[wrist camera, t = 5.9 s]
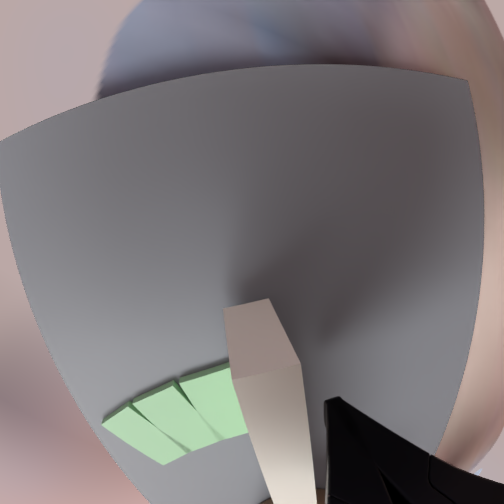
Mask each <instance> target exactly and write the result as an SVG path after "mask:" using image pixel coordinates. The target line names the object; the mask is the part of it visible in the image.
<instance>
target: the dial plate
mask: <svg viewBox="0 0 504 504" xmlns="http://www.w3.org/2000/svg"><path fill="white" fill-rule="evenodd" d="M0 190H1V196H2V202H3V208H4V213H5V218H6V223H7V228H8V232H9V236H10V241H11V245H12V249H13V253H14V256H15V260H16V264H17V267H18V270H19V274H20V277H21V280H22V283H23V286H24V289H25V292H26V295H27V298H28V301H29V303H30V306H31V309H32V312H33V314H34V317H35V319H36V322H37V325H38V327H39V329H40V332H41V334H42V337H43V339H44V341H45V343H46V346H47V348H48V350H49V352H50V354H51V356H52V359H53V360H54V363H55V365H56V367H57V369H58V371H59V373H60V375H61V376H62V379H63V380H64V382H65V384H66V386H67V388H68V390H69V391H70V393H71V395H72V397H73V399H74V400H75V402H76V404H77V405H78V407H79V409H80V410H81V412H82V414H83V415H84V417H85V419H86V420H87V422H88V423H89V425H90V426H91V428H92V429H93V431H94V432H95V434H96V435H97V437H98V438H99V440H100V441H101V443H102V444H103V445H104V447H105V448H106V450H107V451H108V453H109V454H110V455H111V457H112V458H113V459H114V461H115V462H116V463H117V465H118V466H119V467H120V468H121V470H122V471H123V472H124V473H125V475H126V476H127V477H128V478H129V480H130V481H131V482H132V483H133V484H134V486H135V487H136V488H137V489H138V490H139V491H140V492H141V494H142V495H143V496H144V497H145V498H146V499H147V500H148V501H149V502H150V504H261V503H263V502H264V501H266V500H268V499H271V495H270V493H269V490H268V487H267V484H266V482H265V479H264V476H263V473H262V471H261V468H260V465H259V462H258V459H257V456H256V454H255V451H254V448H253V445H252V442H251V439H250V436H249V433H248V430H247V427H246V424H245V421H244V418H243V414H242V411H241V408H240V405H239V402H238V399H237V395H236V392H235V389H234V386H233V382H232V378H231V370H230V363H229V355H228V347H227V339H226V331H225V322H224V313H223V308H228V307H233V306H237V305H242V304H246V303H250V302H255V301H259V300H263V299H268V298H269V300H270V302H271V304H272V306H273V308H274V310H275V312H276V314H277V316H278V318H279V320H280V322H281V324H282V326H283V328H284V330H285V332H286V335H287V337H288V339H289V341H290V343H291V345H292V347H293V349H294V351H295V353H296V355H297V357H298V359H299V361H300V363H301V369H302V376H303V384H304V391H305V399H306V407H307V415H308V424H309V432H310V441H311V450H312V459H313V469H314V479H315V489H325V485H326V427H325V423H324V401H325V400H326V399H330V398H333V397H336V396H340V397H341V398H342V399H343V400H345V401H346V402H348V403H349V404H351V405H352V406H354V407H355V408H357V409H358V410H360V411H361V412H363V413H364V414H366V415H367V416H369V417H371V418H372V419H374V420H375V421H377V422H378V423H380V424H382V425H383V426H385V427H386V428H388V429H390V430H391V431H393V432H395V433H396V434H398V435H399V436H401V437H403V438H404V439H406V440H408V441H409V442H411V443H413V444H414V445H416V446H418V447H420V448H421V449H423V450H425V451H427V452H428V453H430V455H431V454H432V455H435V453H436V451H437V449H438V446H439V444H440V441H441V439H442V437H443V434H444V432H445V429H446V426H447V424H448V421H449V418H450V415H451V413H452V410H453V407H454V404H455V401H456V398H457V394H458V391H459V388H460V385H461V381H462V378H463V374H464V370H465V366H466V362H467V358H468V354H469V350H470V345H471V341H472V336H473V331H474V325H475V320H476V314H477V307H478V300H479V293H480V284H481V275H482V263H483V247H484V190H483V174H482V162H481V153H480V144H479V137H478V130H477V124H476V118H475V112H474V107H473V102H472V98H471V93H470V89H469V84H468V81H467V80H463V79H458V78H453V77H449V76H443V75H438V74H432V73H426V72H420V71H413V70H406V69H397V68H388V67H377V66H363V65H341V64H300V65H278V66H264V67H253V68H243V69H234V70H226V71H219V72H212V73H206V74H200V75H194V76H189V77H184V78H179V79H174V80H169V81H164V82H160V83H156V84H152V85H147V86H144V87H140V88H136V89H132V90H129V91H125V92H122V93H118V94H115V95H111V96H108V97H105V98H102V99H99V100H96V101H93V102H90V103H87V104H84V105H81V106H79V107H76V108H73V109H71V110H68V111H66V112H63V113H61V114H58V115H55V116H53V117H51V118H48V119H46V120H44V121H41V122H39V123H37V124H35V125H32V126H30V127H28V128H26V129H24V130H22V131H20V132H18V133H16V134H13V135H12V136H10V137H8V138H6V139H4V140H2V141H0Z"/></svg>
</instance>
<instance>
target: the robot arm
mask: <svg viewBox="0 0 504 504" xmlns="http://www.w3.org/2000/svg"><path fill="white" fill-rule="evenodd" d="M324 423H325V427H326V485H325V504H504V484H502V483H498V482H495V481H492V480H489V479H486V478H483V477H480V476H477V475H474V474H471V473H469V472H467V471H464V470H462V469H459V468H457V467H455V466H453V465H451V464H449V463H447V462H445V461H443V460H441V459H439V458H437V457H435V456H434V455H432V454H431V455H430V453H428V452H427V451H425V450H423V449H421V448H420V447H418V446H416V445H414V444H413V443H411V442H409V441H408V440H406V439H404V438H403V437H401V436H399V435H398V434H396V433H395V432H393V431H391V430H390V429H388V428H386V427H385V426H383V425H382V424H380V423H378V422H377V421H375V420H374V419H372V418H371V417H369V416H367V415H366V414H364V413H363V412H361V411H360V410H358V409H357V408H355V407H354V406H352V405H351V404H349V403H348V402H346V401H345V400H343V399H342V398H341V397H340V396H336V397H333V398H330V399H326V400H325V401H324Z"/></svg>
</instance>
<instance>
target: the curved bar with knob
mask: <svg viewBox="0 0 504 504" xmlns="http://www.w3.org/2000/svg"><path fill="white" fill-rule="evenodd" d="M223 313H224V322H225V331H226V339H227V347H228V355H229V363H230V370H231V378H232V382H233V386H234V389H235V392H236V395H237V399H238V402H239V405H240V408H241V411H242V414H243V418H244V421H245V424H246V427H247V430H248V433H249V436H250V439H251V442H252V445H253V448H254V451H255V454H256V456H257V459H258V462H259V465H260V468H261V471H262V473H263V476H264V479H265V482H266V484H267V487H268V490H269V493H270V495H271V499H268V500H266V501H264V502H263V503H261V504H325V489H315V479H314V469H313V459H312V450H311V441H310V432H309V424H308V415H307V407H306V399H305V391H304V384H303V376H302V369H301V363H300V361H299V359H298V357H297V355H296V353H295V351H294V349H293V347H292V345H291V343H290V341H289V339H288V337H287V335H286V332H285V330H284V328H283V326H282V324H281V322H280V320H279V318H278V316H277V314H276V312H275V310H274V308H273V306H272V304H271V302H270V300H269V298H268V299H263V300H259V301H255V302H250V303H246V304H242V305H237V306H233V307H228V308H223Z"/></svg>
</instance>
